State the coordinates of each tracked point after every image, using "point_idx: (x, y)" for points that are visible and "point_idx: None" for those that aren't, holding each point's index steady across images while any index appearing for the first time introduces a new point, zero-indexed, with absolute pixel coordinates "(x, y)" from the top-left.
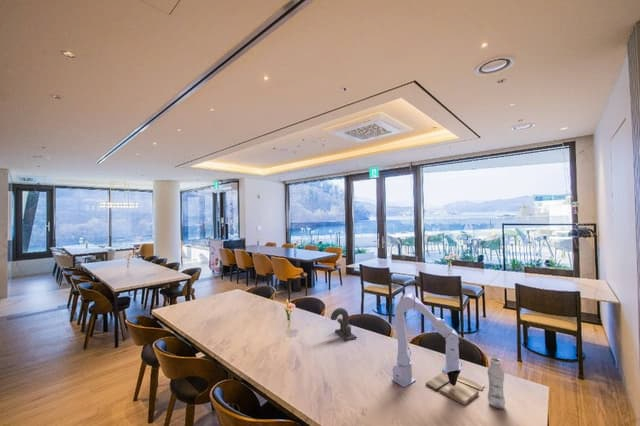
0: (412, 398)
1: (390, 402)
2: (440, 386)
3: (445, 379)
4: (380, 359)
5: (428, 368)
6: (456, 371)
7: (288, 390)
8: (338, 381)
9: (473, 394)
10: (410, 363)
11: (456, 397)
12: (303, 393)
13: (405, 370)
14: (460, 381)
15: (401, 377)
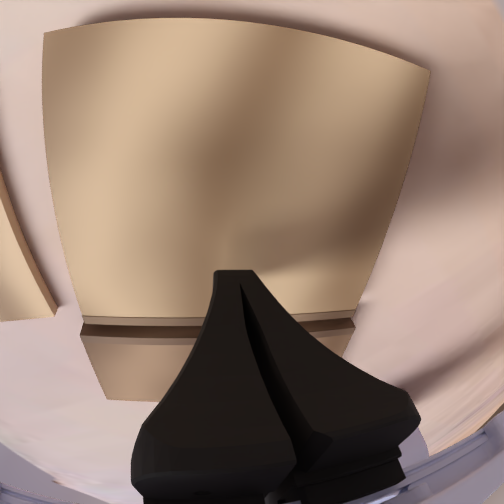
0: (467, 327)
1: (500, 339)
2: None
3: (152, 361)
4: None
5: (124, 434)
6: (281, 471)
7: (488, 414)
8: (442, 430)
9: (187, 21)
10: (380, 500)
11: (403, 159)
12: (492, 406)
13: (406, 462)
14: (31, 277)
15: (418, 431)
